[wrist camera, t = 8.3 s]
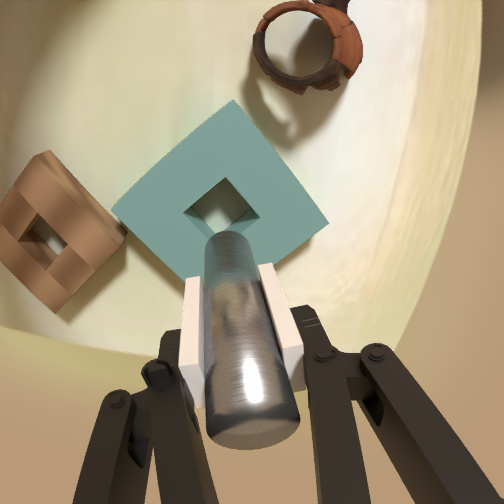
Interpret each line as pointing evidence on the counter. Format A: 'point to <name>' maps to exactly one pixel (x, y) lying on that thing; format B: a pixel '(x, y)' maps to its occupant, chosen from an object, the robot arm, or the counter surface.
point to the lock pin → (242, 352)
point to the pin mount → (63, 223)
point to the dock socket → (206, 177)
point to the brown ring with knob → (344, 50)
